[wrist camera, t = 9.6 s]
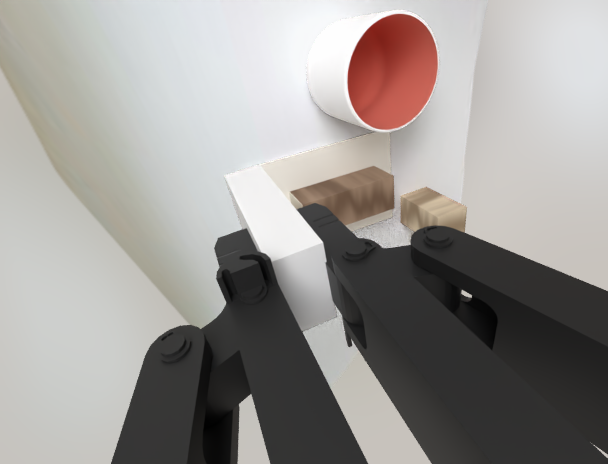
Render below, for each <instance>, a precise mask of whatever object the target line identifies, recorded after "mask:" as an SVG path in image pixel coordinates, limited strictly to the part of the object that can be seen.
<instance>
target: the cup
mask: <svg viewBox="0 0 608 464" xmlns="http://www.w3.org/2000/svg"><path fill="white" fill-rule="evenodd" d="M439 67H440V57H439V49H438V44H437V41H436V38H435V35H434V33H433V31H432V30H431V28H430V27H429V25H428V24H427V23H426V22H425V21H424V20H423V19H422V18H421V17H420V16H418V15H417V14H415V13H412V12H410V11H406V10H391V11H385V12H380V13H374V14H368V15H363V16H357V17H352V18H346V19H342V20H339V21H336V22H334V23H333V24H331V25H329V26H328V27H327V28H325V29H324V30H323V31H322V32H321V33H320V35H319V36H318V37H317V39H316V40H315V42H314V44H313V46H312V48H311V50H310V53H309V56H308V60H307V67H306V77H307V84H308V88H309V91H310V94H311V96H312V98H313V100H314V101H315V103H316V104H317V106H318V107H319V108H320V109H321V110H322V111H324V112H325V113H327V114H328V115H330V116H332V117H335V118H338V119H341V120H343V121H346V122H349V123H352V124H355V125H357V126H360V127H363V128H366V129H369V130H371V131H374V132H379V133H388V132H393V131H397V130H400V129H402V128H404V127H406V126H407V125H409V124H410V123H411V122H413V121H414V120H415V119H416V118H417V117H418V116H419V115H420V114H421V113H422V112H423V110H424V109H425V107H426V106H427V104H428V103H429V101H430V99H431V97H432V95H433V93H434V90H435V87H436V84H437V80H438V75H439Z"/></svg>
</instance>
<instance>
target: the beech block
mask: <svg viewBox="0 0 608 464" xmlns="http://www.w3.org/2000/svg"><path fill="white" fill-rule="evenodd" d="M466 212H467V207H466V206H464V205H462V204H460V203H458V202H456V201H454V200H452V199H450V198H447V197H445V196H443V195H441V194H439V193H437V192H435V191H433V190H431V189H429V188H427V187H425V188H422V189H419V190H416V191H413V192H410V193H407V194H404V195H401V223H402V224H404V225H405V226H407V227H408V228H410V229H411V230H413V231H414V232H416V231H417V230H419V229H421V228H423V227H427V226H433V225H437V226H447V227H451V228H454V229H457V230H459V231H461V232H464V233H465V221H466Z"/></svg>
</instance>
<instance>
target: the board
mask: <svg viewBox="0 0 608 464" xmlns="http://www.w3.org/2000/svg"><path fill="white" fill-rule="evenodd" d="M260 166H261V167H262V168H263V169H264V171H265V172H266V173H267V174H268V175H269V177H270V178H271V179H272V180H273V182H274V183H275V184H276V185H277V186H278V188H279V189H280V190H281V191H282V193H283V194H284V195H285V196H286V198H287V199H288V200H289V201H290V202H291V200H290V195H289V192H290V191H293V190H297V189H300V188H303V187H306V186H310V185H313V184H316V183H319V182H323V181H326V180H329V179H332V178H336V177H339V176H342V175H345V174H349V173H352V172H355V171H358V170H362V169H365V168H368V167H371V166H375V167H377V168H379V169H381V170H383V171H385V172H387V173H389V174H391V153H390V132H388V133H379V132H373V133H369V134H366V135H362V136H359V137H355V138H352V139H348V140H345V141H341V142H337V143H334V144H330V145H327V146H323V147H320V148H316V149H313V150H309V151H306V152H302V153H298V154H295V155H291V156H288V157H284V158H281V159H277V160H274V161H270V162H266V163H263V164H260ZM245 169H246V168H245ZM242 170H243V169H242ZM238 171H239V170H238ZM391 217H392V209H391V210H388V211H385V212H383V213H380V214H377V215H374V216H371V217H368V218H365V219H362V220H360V221H357V222H354V223H351V224H348V225H345V226H346V227H347V228H348V229H349V230H350V231H351V232H352V231H355V230H358V229H360V228H363V227H366V226H369V225H372V224H374V223H377V222H380V221H383V220H386V219H389V218H391Z"/></svg>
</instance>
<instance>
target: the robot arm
mask: <svg viewBox="0 0 608 464" xmlns="http://www.w3.org/2000/svg"><path fill="white" fill-rule="evenodd" d="M224 177H225V180H226V183H227V186H228V189H229V192H230V195H231V198H232V201H233V204H234V207H235V210H236V213H237V216H238V218H239V221H240V224H241V227H242V230H240V231H237V232H234V233H231V234H228V235H226V236H223V237H220V238H218V240H217V243H216V245H215V248H214V249H215V252H216V256H217V260H218V263H219V267H220V268H219V269H218V271H217V277H216V279H217V282H218V284H219V286H220V289H221V291H222V293H223V296H224V298H225V300H226V302H227V303H226V306H225V307H224V309H223V311H222V312H221V313H220V314H219V316H218V317H217V318H215V319H214V320H213V321H212V322H211V323H209V324H208V325H206V326H205V327H203V328H202V329H200V328H199V327H195V326H192V325H184V326H179V327H176V328H173V329H170V330H169V331H167V332H165V333H164V334H162V335H161V336H159V337H158V338H157V340H155V341H154V343H153V344H152V345H151V346H150V348H149V350H148V351H147V353H146V355H145V358H144V361H143V365H142V368H141V371H140V374H139V377H138V380H137V383H136V387H135V390H134V393H133V396H132V399H131V402H130V406H129V409H128V412H127V415H126V418H125V421H124V425H123V428H122V431H121V434H120V437H119V441H118V443H117V447H116V450H115V453H114V456H113V459H112V462H111V464H237V461H238V433H239V403H241V402H242V401H243V400H244V399H245V398H246V397H248V396H249V395H250V394H252V397H253V401H254V405H255V408H256V412H257V416H258V420H259V423H260V427H261V430H262V434H263V438H264V442H265V445H266V449H267V453H268V456H269V460H270V464H368V463H367V461H366V459H365V457H364V455H363V453H362V451H361V449H360V447H359V445H358V443H357V441H356V439H355V437H354V435H353V433H352V431H351V429H350V427H349V425H348V423H347V421H346V419H345V417H344V415H343V413H342V411H341V409H340V407H339V405H338V403H337V401H336V399H335V397H334V395H333V393H332V391H331V389H330V387H329V385H328V383H327V381H326V379H325V377H324V375H323V373H322V371H321V369H320V367H319V365H318V363H317V361H316V359H315V357H314V355H313V353H312V351H311V349H310V347H309V345H308V343H307V341H306V339H305V337H304V335H303V333H302V332H303V331H305V330H308V329H310V328H312V327H315V326H317V325H319V324H322V323H324V322H326V321H329V320H331V319H333V318H335V317H337V313H336V308H335V305H336V307H337V308H338V310H339V311H340V313H341V314H342V318H343V324H344V329H345V335H346V341H347V344H348V347H350V346H352V342H351V339H352V340H353V342H354V344H355V345H356V347H357V348H358V350H359V351H360V353H361V354H362V356H363V357H364V359H365V361H366V362H367V364H368V365H369V367H370V368H371V370H372V371H373V373H374V374H375V376H376V378H377V379H378V381H379V382H380V384H381V385H382V387H383V389H384V390H385V392H386V393H387V395H388V396H389V398H390V399H391V401H392V403H393V404H394V406H395V407H396V409H397V410H398V412H399V413H400V415H401V416H402V418H403V420H404V421H405V423H406V424H407V426H408V427H409V429H410V431H411V432H412V433H413V435H414V437H415V438H416V440H417V441H418V443H419V444H420V446H421V448H422V449H423V451H424V452H425V454H426V455H427V457H428V458H429V460H430V461H431V463H432V464H608V458H606V457H605V456H604V455H603V454H602V453H601V452H600V451H599V450H598V449H597V448H596V447H595V446H597V447H598V448H599V449H601V450H602V451H604V452H605V453H607V454H608V291H606V290H603V289H601V288H599V287H596V286H594V285H591V284H589V283H586V282H584V281H581V280H579V279H576V278H574V277H572V276H569V275H566V274H564V273H562V272H559V271H557V270H555V269H552V268H549V267H547V266H545V265H542V264H540V263H537V262H535V261H532V260H530V259H527V258H525V257H523V256H520V255H518V254H515V253H513V252H510V251H508V250H505V249H503V248H501V247H498V246H496V245H493V244H491V243H488V242H486V241H483V240H481V239H479V238H476V237H474V236H471V235H469V234H466V233H464V232H461V231H459V230H457V229H454V228H451V227H447V226H437V225H433V226H427V227H423V228H421V229H419V230H417V231H416V232H415V233H414V234H413V235H412V237H411V245H407V246H401V247H394V248H382V247H381V246H380V245H379V244H377V243H376V242H374V241H372V240H369V239H364V238H357V237H356V236H355V235H354V234H353V233H352V232H351V231H350V230H349V229H348V228H347V227H346V226H345V225H344V224H343V223H342V222H341V221H339V219H338V218H337V217H336V216H335V215H333V213H332V212H331V211H330V210H329V209H328V208H327V207H326V206H323V205H320V204H317V203H313V204H310V205H307V206H304V207H302V208H299V209H295V207H294V206H293V205H292V204H291V202H290V201H289V200H288V199H287V198H286V196H285V195H284V194H283V193H282V191H281V190H280V189H279V188H278V186H277V185H276V184H275V183H274V182H273V180H272V179H271V178H270V177H269V175H268V174H267V173H266V172H265V171H264V169H263V168H262V167H261V166H260V164H258V165H255V166H252V167H249V168H246V169H243V170H239V171H236V172H233V173H230V174H227V175H224ZM462 290H464V291H466V292H467V293H469V294H471V295H472V298H469V297H466V296H464V295H462V294H461V291H462ZM590 442H591V443H590ZM593 444H594V445H595V446H593Z"/></svg>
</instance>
